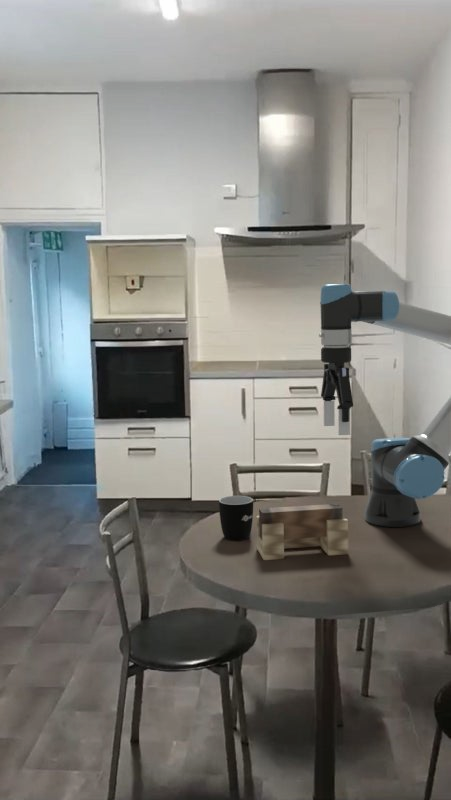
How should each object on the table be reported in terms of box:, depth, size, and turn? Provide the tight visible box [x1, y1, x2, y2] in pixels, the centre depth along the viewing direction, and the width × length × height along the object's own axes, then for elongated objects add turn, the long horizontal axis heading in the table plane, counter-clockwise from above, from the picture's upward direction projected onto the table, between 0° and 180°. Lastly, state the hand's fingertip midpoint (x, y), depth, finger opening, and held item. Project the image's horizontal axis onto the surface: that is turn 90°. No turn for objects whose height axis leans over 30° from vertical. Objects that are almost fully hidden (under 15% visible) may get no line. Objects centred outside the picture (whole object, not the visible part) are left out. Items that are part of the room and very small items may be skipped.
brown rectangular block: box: [258, 503, 343, 539], centre depth 199 cm, size 20×4×7 cm, turn 98°
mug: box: [218, 495, 254, 542], centre depth 213 cm, size 12×9×10 cm
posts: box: [255, 515, 349, 561], centre depth 199 cm, size 21×9×8 cm, turn 98°
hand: (336, 430), depth 204 cm, fingers open, 13 cm apart
